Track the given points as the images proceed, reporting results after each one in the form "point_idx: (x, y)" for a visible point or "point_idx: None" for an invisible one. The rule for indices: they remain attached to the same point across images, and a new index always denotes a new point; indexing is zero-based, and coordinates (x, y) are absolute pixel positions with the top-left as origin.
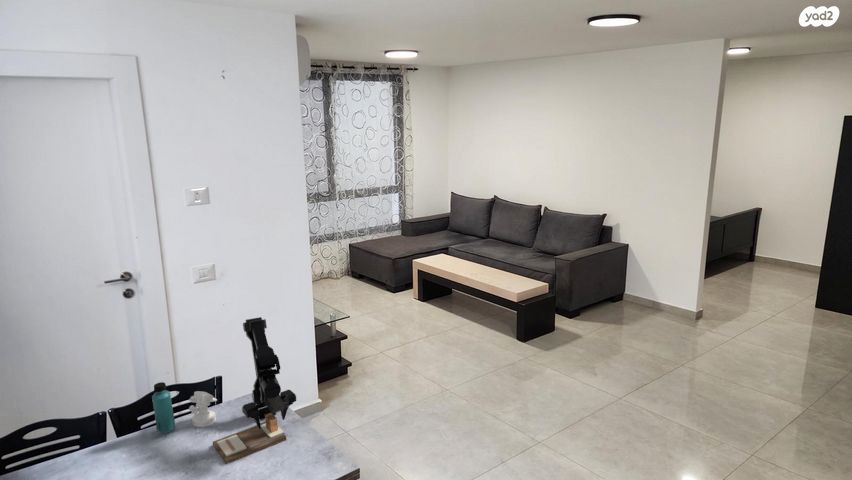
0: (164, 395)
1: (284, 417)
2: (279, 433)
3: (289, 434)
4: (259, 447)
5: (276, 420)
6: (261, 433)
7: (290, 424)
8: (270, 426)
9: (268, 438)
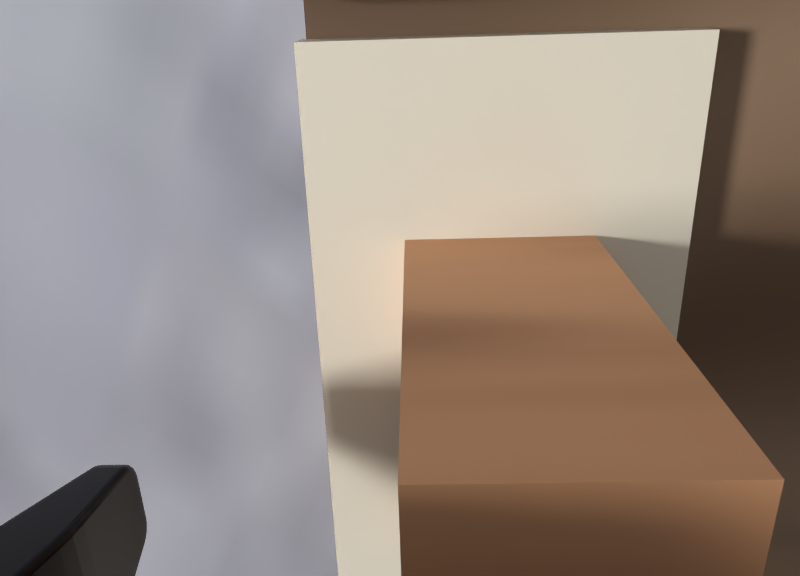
0: None
1: (47, 505)
2: (428, 56)
3: (167, 82)
4: None
5: (423, 415)
6: (735, 405)
7: (52, 419)
8: (656, 343)
9: (731, 99)
